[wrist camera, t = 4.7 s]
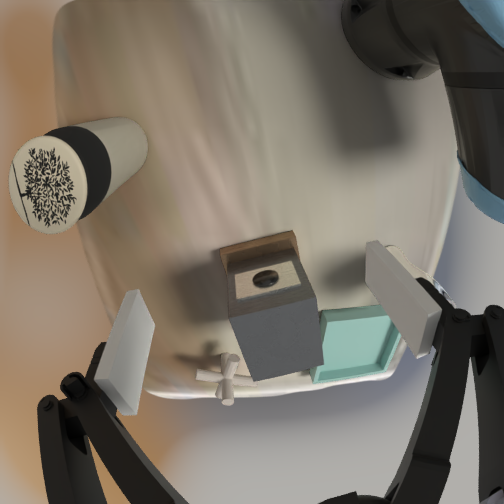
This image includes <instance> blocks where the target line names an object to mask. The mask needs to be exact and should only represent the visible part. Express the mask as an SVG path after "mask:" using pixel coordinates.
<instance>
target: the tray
mask: <svg viewBox="0 0 504 504" xmlns="http://www.w3.org/2000/svg"><path fill="white" fill-rule="evenodd" d="M320 331H321V339H322V348H323V357H324V365H321V366H318V367H314V368H310V376H311V379H312V382H313V384H317V383H324V382H331V381H338V380H344V379H350V378H356V377H362V376H367V375H373V374H378V373H383V372H386V370H387V368H388V365H389V363H390V361H391V359H392V356H393V354H394V352H395V349H396V347H397V345H398V342H399V340H400V337H401V334H400V333H399V331H398V329H397V328H396V326H395V325H394V323H393V322H392V320H391V319H390V318H389V316H388V315H387V313H386V312H385V310H384V309H383V307H382V306H381V305H374V306H364V307H354V308H344V309H332V310H322V315H321V320H320Z"/></svg>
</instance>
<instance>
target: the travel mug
mask: <svg viewBox="0 0 504 504" xmlns="http://www.w3.org/2000/svg"><path fill="white" fill-rule="evenodd" d="M147 152H148V142H147V138H146V135H145V133H144V131H143V129H142V128H141V127H140V126H139V125H138V124H137V123H136V122H135V121H133V120H131V119H128V118H124V117H115V118H109V119H103V120H97V121H91V122H86V123H81V124H76V125H71V126H67V127H62V128H58V129H54V130H52V131H50V132H48V133H46V134H45V135H44V136H39V137H35V138H33V139H31V140H29V141H28V142H26V143H25V144H24V145H23V146H22V147H21V148H20V149H19V150H18V152H17V153H16V155H15V157H14V158H13V161H12V164H11V167H10V172H9V192H10V196H11V200H12V203H13V206H14V208H15V210H16V212H17V213H18V215H19V216H20V217H21V219H22V220H23V221H24V222H25V223H26V224H27V225H28V226H30V227H31V228H33V229H34V230H36V231H38V232H41V233H45V234H57V233H61V232H64V231H66V230H68V229H69V228H70V227H72V226H73V225H74V224H75V223H76V222H77V220H80V219H82V218H84V217H86V216H87V215H89V214H90V213H91V212H92V211H93V210H94V209H95V208H96V207H97V206H98V205H100V204H101V203H102V202H103V201H104V200H105V199H106V198H107V197H108V196H109V195H111V194H112V193H113V192H114V191H115V190H116V189H117V188H119V187H120V186H121V185H122V184H123V183H124V182H126V181H127V180H128V179H129V178H130V177H132V176H133V175H134V174H135V173H136V172H137V171H138V170H139V169H140V168H141V167H142V165H143V164H144V162H145V160H146V157H147Z"/></svg>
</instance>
